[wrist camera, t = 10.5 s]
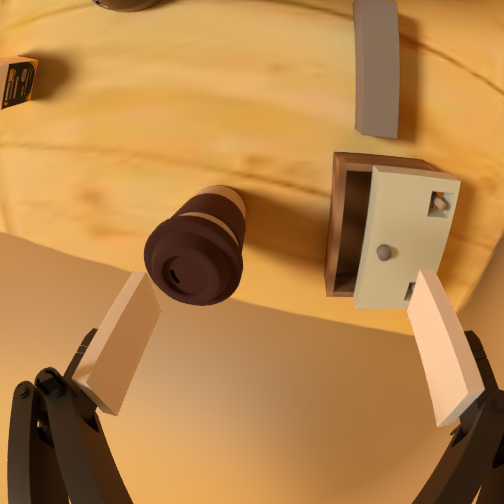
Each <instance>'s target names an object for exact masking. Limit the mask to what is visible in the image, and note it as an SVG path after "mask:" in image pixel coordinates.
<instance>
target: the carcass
mask: <svg viewBox="0 0 504 504" xmlns="http://www.w3.org/2000/svg"><path fill="white" fill-rule="evenodd" d="M373 165H381V166H391V167H401V168H410V169H419V170H427V171H434V172H439V171H437V170H436V169H435V168H433V167H432V166H431V165H429V164H428V163H427V162H425V161H424V160H419V159H411V158H403V157H394V156H384V155H373V154H361V153H347V152H334V155H333V176H332V192H331V207H330V220H329V231H328V242H327V252H326V262H325V271H324V278H325V286H326V296H327V297H353V295H354V291H355V286H356V281H357V276H358V270H359V265H360V259H361V254H362V248H363V242H364V235H365V229H366V222H367V215H368V207H369V199H370V191H371V182H372V172H373ZM434 204H435V205H436V206H437V208H438V209H439V210H440V211H444V210H445V209H446V207H447V205H446V204H445V202H444V201H443V200H442V199H440V198H439V197H438V196H437V195H436V191H432V195H431V200H430V205H429V208H433V205H434ZM415 284H416V282H410V283H409V286H408V289H412V291H414V288H415Z"/></svg>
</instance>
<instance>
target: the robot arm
mask: <svg viewBox="0 0 504 504" xmlns="http://www.w3.org/2000/svg"><path fill="white" fill-rule="evenodd" d="M92 1H93V2H94V3H95V4H97V5H98V6H100V7H102V8H105V9H109V10H113V11H117V12H134V11H139V10H143V9H146V8H148V7H151V6H153V5H155V4H157V3H159V2H161V1H163V0H92ZM160 313H161V309H160V307H159V304H158V301H157V299H156V296H155V294H154V291H153V289H152V286H151V283H150V281H149V278H148V275H147V273H146V272H133V273H132V275H131V276H130V278H129V279H128V281H127V283H126V284H125V286H124V287H123V289H122V290H121V292H120V294H119V295H118V297H117V298H116V300H115V302H114V303H113V305H112V307H111V309H110V310H109V312H108V313H107V315H106V317H105V318H104V320H103V322H102V324H101V325H100V327H99V329H94V328H93V329H92V330H91V331H90V332H89V333H88V334H87V335H86V336H85V338H84V340H83V341H82V343H81V346H80V347H79V348H78V350H77V353H76V354H75V355H74V357H73V359H72V361H71V363H70V364H69V366H68V368H67V370H66V372H65V374H64V376H63V377H62V376H61V375H60V374H59V372H58V371H57V370H56V369H54V368H52V367H48V368H44V369H43V370H41V371H40V372H39V373H38V374H37V376H36V378H35V383H34V385H35V386H36V387H35V386H34V385H33V384H32V383H31V382H29V381H23V382H21V383H20V384H18V385H17V387H16V389H15V391H14V395H13V402H12V409H11V418H10V427H9V440H8V466H7V473H8V474H7V475H8V476H7V479H8V503H9V504H69V499H70V501H71V504H133V502H132V500H131V498H130V496H129V494H128V492H127V489H126V487H125V485H124V483H123V481H122V478H121V476H120V474H119V471H118V469H117V467H116V464H115V462H114V459H113V457H112V454H111V452H110V449H109V446H108V444H107V441H106V438H105V436H104V432H103V430H102V427H101V424H100V421H99V417H98V415H97V413H96V412H95V410H96V408H97V406H98V407H99V408H100V409H101V410H102V411H103V412H104V413H107V414H111V415H114V416H117V415H118V413H119V410H120V408H121V405H122V402H123V400H124V398H125V395H126V393H127V390H128V387H129V385H130V383H131V380H132V378H133V375H134V373H135V371H136V368H137V366H138V363H139V361H140V358H141V356H142V354H143V352H144V349H145V347H146V345H147V342H148V340H149V338H150V336H151V333H152V331H153V329H154V327H155V324H156V322H157V320H158V318H159V315H160ZM407 313H408V316H409V319H410V322H411V325H412V328H413V332H414V335H415V338H416V341H417V345H418V348H419V352H420V355H421V358H422V362H423V366H424V370H425V374H426V378H427V382H428V386H429V390H430V394H431V398H432V403H433V408H434V412H435V417H436V423H437V427H440V426H444V425H448V424H452V423H454V422H455V421H456V420H457V419H458V418H460V422H461V424H460V425H459V426H457V428H455V429H454V430H453V431H452V432H451V434H450V435H453V434H454V433H455V434H454V436H453V438H452V440H451V442H450V444H449V446H448V447H447V449H446V451H445V453H444V454H443V456H442V458H441V460H440V461H439V463H438V465H437V467H436V468H435V470H434V472H433V473H432V475H431V476H430V478H429V479H428V481H427V482H426V484H425V485H424V487H423V488H422V490H421V492H420V493H419V494H418V496H417V497H416V499H415V500H414V501H413V503H412V504H471V503H472V502H473V500H474V498H475V496H476V494H477V493H478V491H479V489H480V487H481V489H480V492H479V496H478V499H477V502H476V504H504V391H503V390H499V388H498V386H497V383H496V380H495V378H494V374H493V372H492V369H491V366H490V364H489V361H488V359H487V356H486V354H485V351H483V346H482V344H481V342H480V339H479V338H478V337H477V336H476V334H475V333H474V332H473V331H463V329H462V327H461V324H460V322H459V320H458V318H457V315H456V313H455V311H454V309H453V307H452V305H451V302H450V300H449V298H448V296H447V294H446V292H445V290H444V288H443V286H442V284H441V282H440V280H439V278H438V276H437V274H436V273H435V271H434V269H420V270H419V274H418V277H417V281H416V284H415V288H414V291H413V294H412V297H411V300H410V304H409V307H408V310H407ZM38 422H39V426H38V427H37V423H38ZM481 485H482V486H481ZM68 496H69V497H68Z"/></svg>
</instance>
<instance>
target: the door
mask: <svg viewBox="0 0 504 504" xmlns="http://www.w3.org/2000/svg"><path fill="white" fill-rule="evenodd" d="M460 184H461V181H460V180H459V179H457V178H456V177H455V176H453V175H452V174H449V173H442V172H434V171H427V170H419V169H410V168H401V167H391V166H381V165H373V172H372V182H371V191H370V199H369V207H368V215H367V222H366V229H365V235H364V242H363V248H362V254H361V259H360V265H359V270H358V276H357V281H356V286H355V291H354V295H353V298H354V303H355V308H356V310H379V309H408V307H409V304H410V300H411V297H412V294H413V291H412V289H408V286H409V283H410V282H416V281H417V277H418V274H419V270H420V269H434V271H435V273H436V274H437V271H438V268H439V265H440V262H441V259H442V256H443V252H444V249H445V246H446V242H447V239H448V235H449V232H450V228H451V224H452V220H453V216H454V212H455V208H456V203H457V199H458V194H459V189H460ZM432 191H437V192H444V193H443V198H442V200H443V201H444V202H445V204H446V205H447V207H446V209H445V210H444V211H440V210H439V209H437V208H429V205H430V200H431V195H432Z"/></svg>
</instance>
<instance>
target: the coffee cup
mask: <svg viewBox="0 0 504 504" xmlns="http://www.w3.org/2000/svg"><path fill="white" fill-rule="evenodd" d="M245 219H246V207H245V204H244V202H243V200H242V198H241V197H240V196H239V195H238V194H237V193H236V192H235V191H234V190H232V189H230V188H228V187H225V186H219V185H216V186H210V187H207V188H205V189H203V190H201V191H200V192H199V193H198V194H197V195H196V196H194V197H193V198H191V199H190V200H189V201H187V202H186V203H185V204H184V205H183V206H182V207H181V208H180V209H179V210H178V211H177V212H176V213H175V214H174V215H173V216H172V217H171V218H170V219H167V220H165V221H164V222H162V223H161V224H160V225H159V226H157V228H156V229H155V230H154V231H153V232H152V234H151V235H150V236H149V238H148V240H147V242H146V245H145V248H144V262H145V266H146V269H147V271H148V274H149V275H150V277H151V279H152V280H153V281H154V283H155V284H156V285H157V286H158V287H159V288H160V289H161V290H162V291H163V292H164V293H165V294H167V295H168V296H169V297H171V298H173V299H175V300H177V301H179V302H182V303H186V304H191V305H200V306H205V305H213V304H217V303H219V302H222V301H224V300H225V299H227V298H229V297H230V296H231V295H232V294H233V293H234V292H235V290H236V289H237V287H238V285H239V283H240V279H241V275H242V271H243V258H242V248H243V242H244V236H245Z"/></svg>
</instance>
